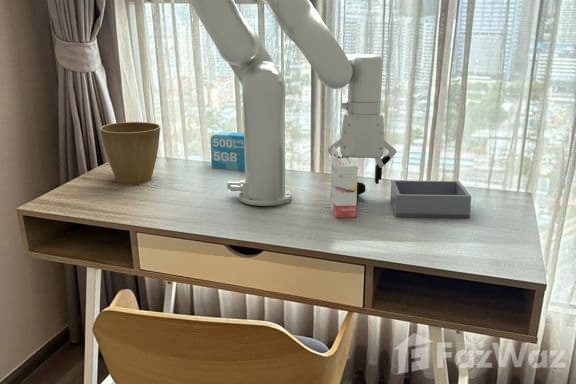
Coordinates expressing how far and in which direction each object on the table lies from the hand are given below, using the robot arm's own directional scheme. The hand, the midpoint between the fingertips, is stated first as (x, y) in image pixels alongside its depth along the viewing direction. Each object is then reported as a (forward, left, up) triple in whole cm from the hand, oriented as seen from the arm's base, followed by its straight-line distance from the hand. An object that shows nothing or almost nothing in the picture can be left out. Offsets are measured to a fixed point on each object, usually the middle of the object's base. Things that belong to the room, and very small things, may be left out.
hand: (360, 181), depth 146 cm
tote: (+15, -7, -5) cm, 17 cm away
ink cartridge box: (-4, -10, -5) cm, 12 cm away
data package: (-34, +21, -5) cm, 40 cm away
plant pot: (-58, +8, -5) cm, 59 cm away
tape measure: (0, 0, -4) cm, 4 cm away
